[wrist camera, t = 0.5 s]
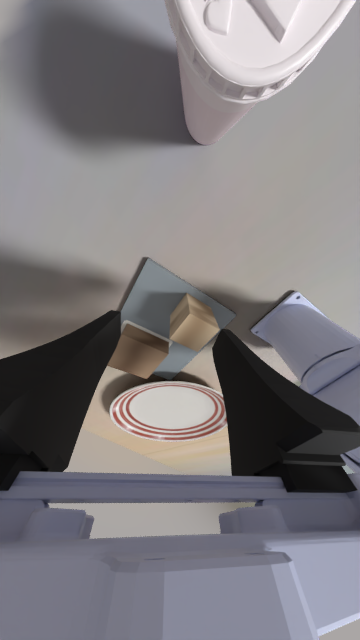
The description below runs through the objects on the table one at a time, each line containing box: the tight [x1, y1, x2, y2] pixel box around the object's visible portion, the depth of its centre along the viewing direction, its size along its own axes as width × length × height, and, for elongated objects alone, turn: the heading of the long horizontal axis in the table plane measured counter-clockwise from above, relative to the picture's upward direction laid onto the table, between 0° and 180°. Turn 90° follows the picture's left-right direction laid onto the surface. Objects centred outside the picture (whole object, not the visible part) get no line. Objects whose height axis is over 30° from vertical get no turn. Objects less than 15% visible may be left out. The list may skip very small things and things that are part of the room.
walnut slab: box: [107, 323, 169, 379], centre depth 23 cm, size 7×7×2 cm
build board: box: [121, 258, 237, 380], centre depth 23 cm, size 14×18×1 cm
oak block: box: [169, 293, 220, 352], centre depth 18 cm, size 4×4×5 cm
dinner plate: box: [109, 381, 227, 442], centre depth 35 cm, size 28×27×3 cm
